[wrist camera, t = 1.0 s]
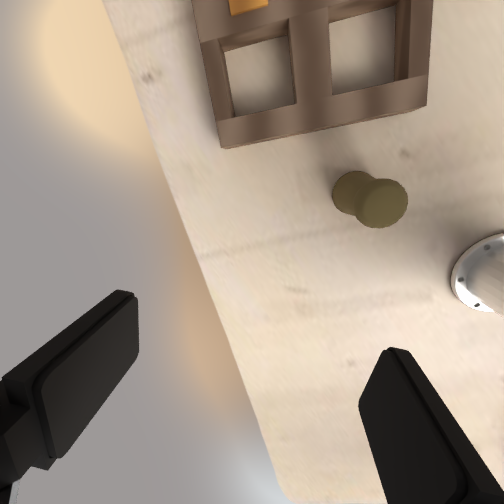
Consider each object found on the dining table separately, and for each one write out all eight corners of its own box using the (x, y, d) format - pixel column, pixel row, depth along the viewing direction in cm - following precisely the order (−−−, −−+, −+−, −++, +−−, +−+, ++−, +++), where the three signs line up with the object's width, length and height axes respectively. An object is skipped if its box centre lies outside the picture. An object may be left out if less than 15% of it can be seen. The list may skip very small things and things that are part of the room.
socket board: (419, -90, 24) (443, -135, 20) (410, 111, 30) (427, 105, 26) (194, -17, 28) (182, -43, 24) (226, 149, 34) (220, 147, 30)
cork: (323, 192, 34) (341, 205, 24) (358, 161, 32) (395, 161, 22) (349, 222, 35) (377, 247, 25) (385, 193, 33) (431, 207, 23)
